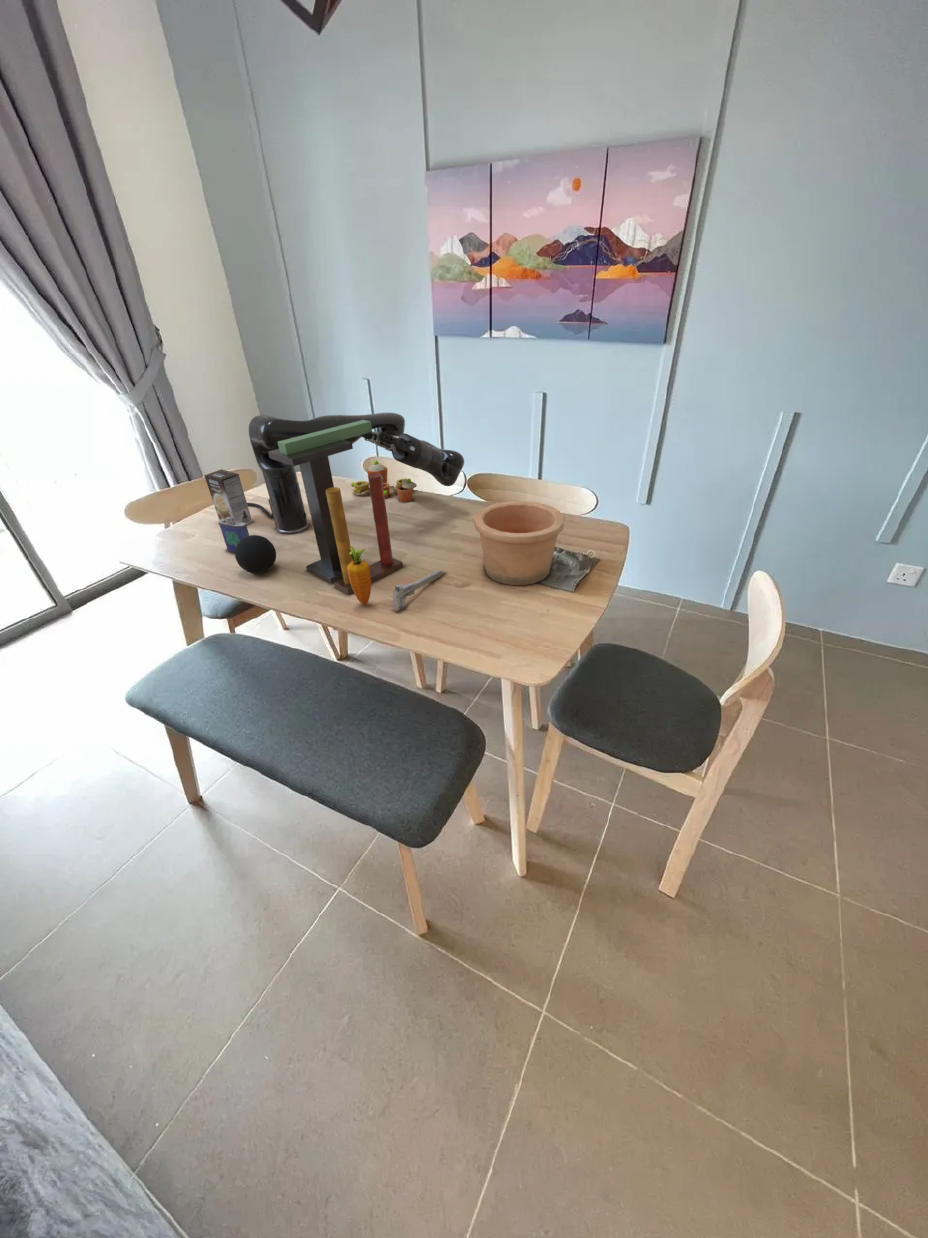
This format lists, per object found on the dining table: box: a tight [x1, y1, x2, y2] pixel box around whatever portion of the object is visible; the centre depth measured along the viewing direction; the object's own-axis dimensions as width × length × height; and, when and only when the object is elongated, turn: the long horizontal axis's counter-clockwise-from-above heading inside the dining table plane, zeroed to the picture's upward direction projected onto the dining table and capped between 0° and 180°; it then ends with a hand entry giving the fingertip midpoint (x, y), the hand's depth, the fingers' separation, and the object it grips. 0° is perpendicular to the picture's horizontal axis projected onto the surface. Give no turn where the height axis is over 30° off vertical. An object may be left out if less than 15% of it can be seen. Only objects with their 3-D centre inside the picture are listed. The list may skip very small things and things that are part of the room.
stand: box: [268, 440, 354, 585], centre depth 122 cm, size 16×11×32 cm
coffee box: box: [204, 468, 253, 526], centre depth 155 cm, size 9×6×16 cm
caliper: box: [392, 569, 445, 612], centre depth 118 cm, size 20×1×6 cm, turn 151°
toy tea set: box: [350, 460, 418, 503], centre depth 174 cm, size 26×16×10 cm, turn 63°
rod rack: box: [326, 473, 404, 595], centre depth 120 cm, size 18×6×25 cm, turn 138°
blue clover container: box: [218, 516, 250, 554], centre depth 139 cm, size 9×3×11 cm, turn 68°
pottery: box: [473, 500, 565, 586], centre depth 123 cm, size 22×22×14 cm
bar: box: [278, 420, 373, 455], centre depth 115 cm, size 24×3×2 cm, turn 138°
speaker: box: [234, 534, 277, 574], centre depth 129 cm, size 10×10×10 cm
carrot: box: [347, 546, 372, 607], centre depth 112 cm, size 5×5×15 cm
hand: (368, 432), depth 123 cm, fingers open, 8 cm apart
